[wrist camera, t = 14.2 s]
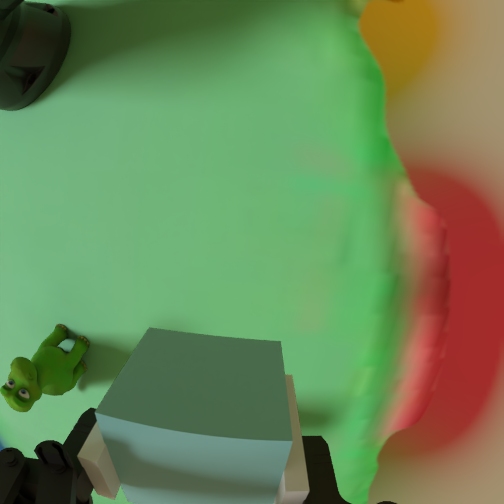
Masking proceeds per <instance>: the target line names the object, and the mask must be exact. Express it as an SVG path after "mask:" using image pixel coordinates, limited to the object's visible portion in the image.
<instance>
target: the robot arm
mask: <svg viewBox="0 0 504 504" xmlns="http://www.w3.org/2000/svg"><path fill="white" fill-rule="evenodd" d="M70 35H71V27H70V22H69V19H68V17H67V15H66V14H65V13H64V12H63V11H61V10H60V9H58V8H57V7H55V6H53V5H51V4H46V3H38V2H27V1H24V0H0V109H1V110H7V111H14V110H18V109H21V108H23V107H25V106H27V105H28V104H30V103H31V102H33V101H34V100H35V99H36V98H37V97H38V96H39V95H40V94H41V93H42V92H43V91H44V90H45V89H46V88H47V86H48V85H49V84H50V83H51V81H52V80H53V78H54V77H55V75H56V74H57V72H58V70H59V68H60V66H61V64H62V62H63V60H64V58H65V55H66V53H67V50H68V46H69V42H70ZM285 379H286V387H287V396H288V404H289V412H290V421H291V429H292V438H293V442H292V446H291V450H290V453H289V457H288V460H287V464H286V467H285V470H284V471H283V475H282V478H281V481H280V485H279V488H278V491H277V494H276V497H275V500H274V503H273V504H351V503H349V502H347V501H345V500H344V499H343V498H342V497H341V496H340V494H339V491H338V487H337V483H336V478H335V473H334V469H333V464H332V460H331V456H330V451H329V447H328V444H327V443H326V441H325V440H324V439H323V438H322V436H302V435H301V428H300V422H299V415H298V409H297V402H296V396H295V389H294V383H293V377H292V375H285ZM95 411H96V409H95V408H90V409H88V410H87V411H85V412H84V413H83V414H82V415H81V417H80V418H79V420H78V421H77V423H76V425H75V426H74V428H73V430H72V431H71V432H70V434H69V436H68V437H67V439H66V441H65V442H64V444H63V445H62V444H61V443H59V442H57V441H54V440H46V441H43V442H41V443H40V444H38V445H37V446H36V448H35V450H34V451H35V453H36V455H37V457H38V458H39V459H33V458H27V457H24V455H23V454H22V452H21V451H19V450H18V449H16V448H12V447H11V448H5V449H3V450H1V452H0V504H93V500H92V496H91V493H92V490H93V488H94V489H95V491H96V493H97V494H98V495H101V496H104V497H107V498H110V499H114V500H115V498H116V495H117V492H118V490H119V487H120V485H121V483H120V480H119V478H118V475H117V473H116V470H115V468H114V465H113V463H112V460H111V457H110V455H109V452H108V449H107V446H106V444H105V443H104V440H103V437H102V434H101V431H100V428H99V425H98V422H97V419H96V415H95ZM377 504H396V503H394V502H391V501H383V502H380V503H377Z"/></svg>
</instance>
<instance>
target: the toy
mask: <svg viewBox="0 0 504 504" xmlns="http://www.w3.org/2000/svg"><path fill="white" fill-rule="evenodd" d="M67 336H68V332H67V329H66V328H65V326H64V325H61V324H58V325H56V327H55V329H54V331H53V333H52V334H51V335H49V336H48V337H47V338H46V339H45V340H44V341H43V342H42V343H41V345H40V347H39V349H38V351H37V352H36V353H35V354H34V356H33V357H32V359H31V361H30V360H28V359H27V358H24V357H17V358H15V359H14V360H13V361H12V363H11V372H10V374H9V377H8V381H7V382H6V383H5V385H3V386H2V387H1V389H0V392H1V394H2V395H3V396H4V398H5V400H6V401H7V403H8V404H9V406H10V407H11V408H13V409H14V410H16V411H19V412H27V411H29V410H30V409H31V407H32V406H33V404H34V402H35V401H37V400H39V399H40V397H41V395H42V393H44V394H48V395H54V396H55V395H63V394H64V393H65V392H67V391H70V390H71V389H72V388H74V387H75V385H76V383H77V380H78V379H79V378H80V376H81V375H82V374H83V373H85V371H86V370H87V367H86V365H85V364H84V362H83V361H81V360H80V359H81V357H82V355H83V354H84V353H85V352H86V351H87V350H88V348H89V342H88V341H87V340H86V338H84V337H83V336H78V337H77V339H76V341H75V344H74V346H73V348H72V350H71V351H70V352H69V353H65V352H63V351H62V349H61V348H59V347H57V346H58V345H59V344H60V343H61V342H62V341H64V340H65V339H66V338H67Z"/></svg>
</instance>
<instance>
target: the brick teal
mask: <svg viewBox="0 0 504 504" xmlns="http://www.w3.org/2000/svg"><path fill="white" fill-rule="evenodd" d="M95 415H96V419H97V422H98V425H99V428H100V431H101V434H102V437H103V440H104V443H105V444H106V446H107V449H108V452H109V455H110V457H111V460H112V463H113V465H114V468H115V470H116V473H117V475H118V478H119V480H120V483H121V487H122V489H123V492H124V494H125V496H126V498H127V500H128V502H131V503H135V504H273V503H274V500H275V497H276V494H277V491H278V488H279V485H280V481H281V478H282V475H283V471H284V470H285V467H286V464H287V460H288V457H289V453H290V450H291V446H292V442H293V438H292V429H291V421H290V412H289V404H288V396H287V387H286V379H285V371H284V363H283V355H282V348H281V341H269V340H255V339H243V338H232V337H222V336H212V335H203V334H194V333H186V332H178V331H171V330H164V329H157V328H150V327H149V329H148V330H147V332H146V333H145V335H144V336H143V338H142V339H141V341H140V342H139V344H138V345H137V347H136V348H135V350H134V351H133V353H132V354H131V356H130V357H129V359H128V360H127V362H126V363H125V365H124V367H123V368H122V370H121V371H120V373H119V374H118V376H117V377H116V379H115V381H114V382H113V384H112V385H111V387H110V388H109V390H108V392H107V393H106V395H105V396H104V398H103V400H102V401H101V403H100V404H99V406H98V408H97V409H96V411H95Z"/></svg>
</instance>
